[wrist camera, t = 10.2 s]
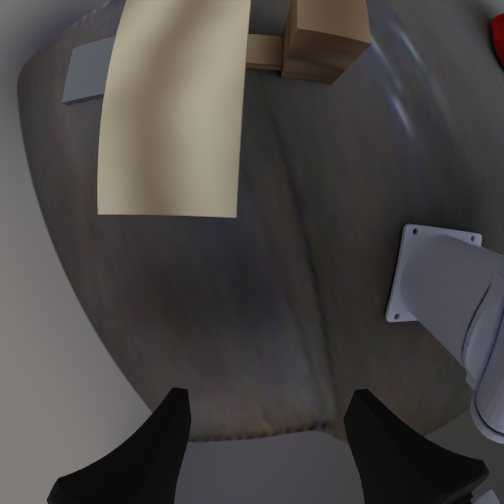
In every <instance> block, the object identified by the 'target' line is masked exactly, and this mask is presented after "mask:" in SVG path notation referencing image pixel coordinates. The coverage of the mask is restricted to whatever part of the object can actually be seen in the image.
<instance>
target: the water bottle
mask: <svg viewBox="0 0 504 504" xmlns="http://www.w3.org/2000/svg"><path fill="white" fill-rule="evenodd" d="M491 29H492V33H493V44H494V48H495V52H496V54H497V56H498V58H499V60H500V62H501V64H502V66H503V67H504V13H503V14H500V15H497V16H496V17H495V18H494V19H493V20H492V23H491Z"/></svg>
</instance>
